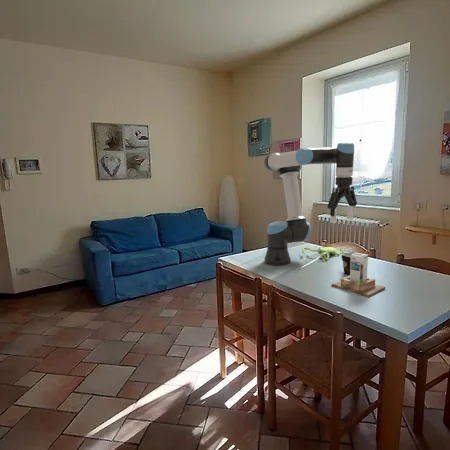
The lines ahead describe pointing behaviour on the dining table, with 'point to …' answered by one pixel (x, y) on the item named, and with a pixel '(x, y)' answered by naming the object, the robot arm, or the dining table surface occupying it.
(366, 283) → the wooden socket base
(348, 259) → the coffee mug
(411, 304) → the dining table surface
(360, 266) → the syrup box
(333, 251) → the figurine
